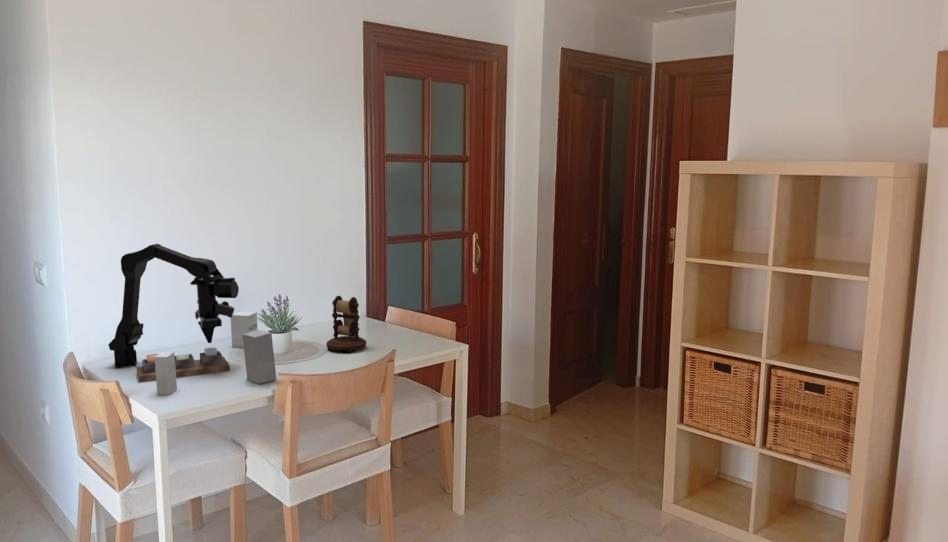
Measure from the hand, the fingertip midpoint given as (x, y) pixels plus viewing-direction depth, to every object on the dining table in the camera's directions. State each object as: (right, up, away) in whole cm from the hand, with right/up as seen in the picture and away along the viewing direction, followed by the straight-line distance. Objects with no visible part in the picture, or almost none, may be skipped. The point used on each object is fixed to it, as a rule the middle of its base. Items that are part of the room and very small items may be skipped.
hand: (209, 342), depth 252 cm
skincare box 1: (-5, -13, -23) cm, 27 cm away
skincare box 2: (+20, -11, -11) cm, 26 cm away
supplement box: (+2, -4, +32) cm, 32 cm away
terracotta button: (-16, -6, -7) cm, 19 cm away
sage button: (-8, -7, -3) cm, 11 cm away
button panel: (-8, -10, -2) cm, 13 cm away
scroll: (+42, -5, +28) cm, 50 cm away
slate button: (0, -5, +1) cm, 5 cm away
